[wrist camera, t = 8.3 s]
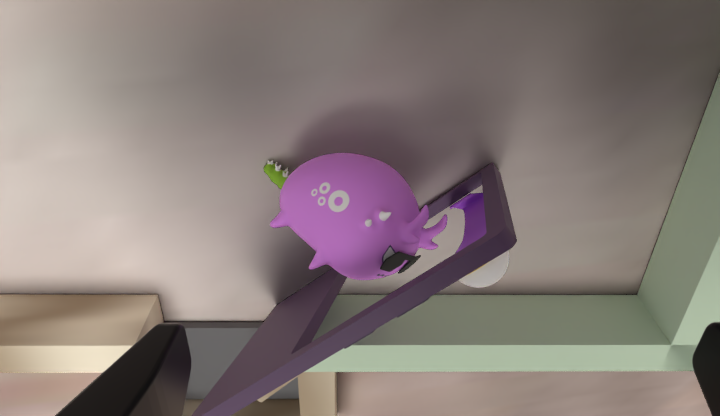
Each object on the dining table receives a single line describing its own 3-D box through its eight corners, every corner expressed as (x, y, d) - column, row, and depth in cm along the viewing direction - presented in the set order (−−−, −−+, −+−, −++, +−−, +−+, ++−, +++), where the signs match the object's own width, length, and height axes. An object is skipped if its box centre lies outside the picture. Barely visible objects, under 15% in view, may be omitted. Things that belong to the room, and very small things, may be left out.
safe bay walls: (833, -100, 13) (925, -95, 11) (659, 320, 20) (695, 371, 18) (279, -110, 12) (266, -107, 10) (302, 320, 20) (297, 372, 17)
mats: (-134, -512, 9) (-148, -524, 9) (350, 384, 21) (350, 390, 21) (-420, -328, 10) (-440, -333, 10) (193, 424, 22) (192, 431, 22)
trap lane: (328, -440, 10) (323, -523, 8) (336, 413, 22) (335, 467, 20) (-510, -467, 9) (-747, -563, 7) (-25, 415, 22) (-64, 470, 20)
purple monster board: (211, 461, 13) (540, 276, 10) (71, 294, 12) (377, 48, 10) (296, 328, 19) (513, 190, 17) (205, 213, 19) (414, 50, 16)
